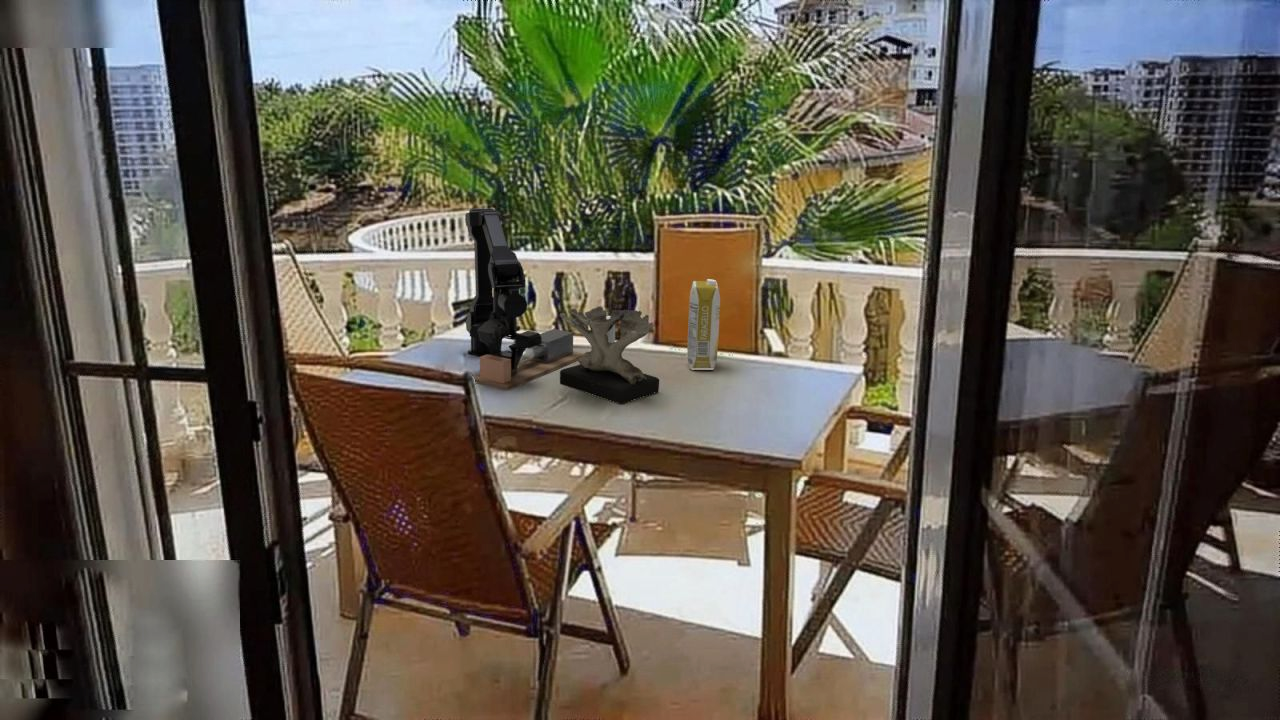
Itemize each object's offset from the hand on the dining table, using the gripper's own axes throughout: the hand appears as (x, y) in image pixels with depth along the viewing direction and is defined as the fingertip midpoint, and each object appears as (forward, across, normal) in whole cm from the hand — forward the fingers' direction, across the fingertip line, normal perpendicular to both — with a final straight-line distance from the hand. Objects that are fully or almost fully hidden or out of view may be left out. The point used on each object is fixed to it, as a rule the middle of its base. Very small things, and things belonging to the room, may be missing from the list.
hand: (505, 367), depth 259 cm
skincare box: (+3, +11, +29) cm, 31 cm away
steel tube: (+2, 0, +7) cm, 7 cm away
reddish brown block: (+2, 0, -4) cm, 5 cm away
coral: (+3, +26, +6) cm, 27 cm away
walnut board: (+3, 0, +10) cm, 11 cm away
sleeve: (+3, 0, +20) cm, 20 cm away
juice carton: (+3, +36, +39) cm, 53 cm away
